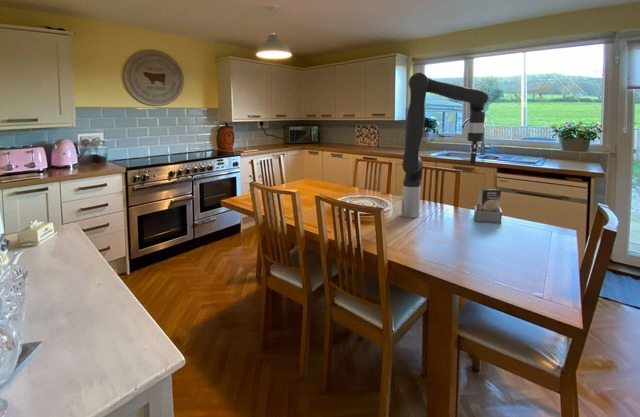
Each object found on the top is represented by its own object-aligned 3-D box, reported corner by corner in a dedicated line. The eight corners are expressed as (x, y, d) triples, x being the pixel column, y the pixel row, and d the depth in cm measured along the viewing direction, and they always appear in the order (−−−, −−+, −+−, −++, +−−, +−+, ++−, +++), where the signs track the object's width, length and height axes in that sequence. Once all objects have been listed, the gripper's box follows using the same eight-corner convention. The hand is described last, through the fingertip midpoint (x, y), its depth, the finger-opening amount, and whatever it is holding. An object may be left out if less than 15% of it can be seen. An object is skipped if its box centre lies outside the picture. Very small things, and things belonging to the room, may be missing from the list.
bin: (474, 221, 201) (475, 210, 199) (473, 216, 210) (474, 205, 208) (500, 223, 196) (502, 212, 195) (499, 218, 206) (500, 207, 204)
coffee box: (480, 220, 200) (482, 190, 196) (476, 216, 206) (478, 187, 202) (498, 220, 200) (501, 190, 195) (493, 216, 206) (496, 187, 202)
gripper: (484, 132, 189) (480, 165, 194) (482, 130, 202) (479, 161, 206) (468, 132, 192) (464, 164, 196) (467, 130, 204) (464, 160, 209)
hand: (472, 162), depth 201 cm, fingers open, 8 cm apart
